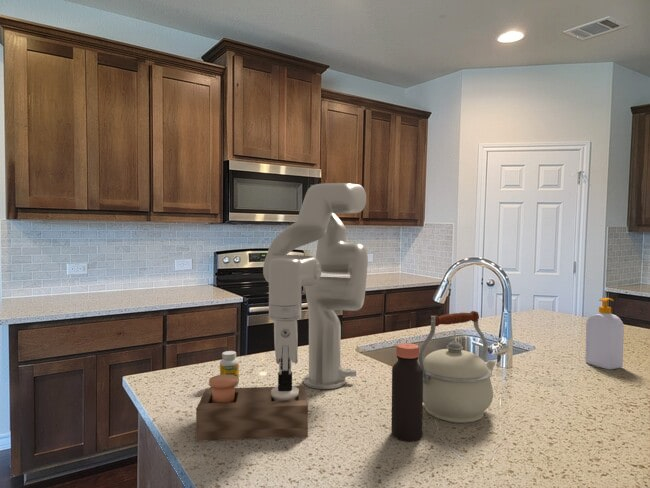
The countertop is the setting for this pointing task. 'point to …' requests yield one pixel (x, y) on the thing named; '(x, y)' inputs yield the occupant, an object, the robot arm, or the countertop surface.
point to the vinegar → (407, 394)
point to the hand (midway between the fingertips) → (285, 389)
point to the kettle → (456, 376)
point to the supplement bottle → (229, 364)
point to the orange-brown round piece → (223, 388)
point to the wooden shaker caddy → (252, 416)
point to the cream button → (285, 394)
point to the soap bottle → (604, 338)
